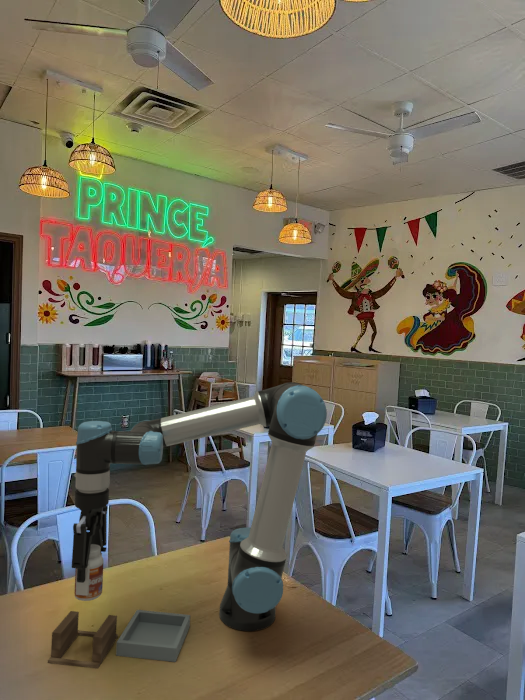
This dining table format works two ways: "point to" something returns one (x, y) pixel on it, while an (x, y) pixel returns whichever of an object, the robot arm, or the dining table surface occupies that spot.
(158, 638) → the tray
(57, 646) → the wooden open frame
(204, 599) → the dining table surface
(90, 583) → the pill bottle
